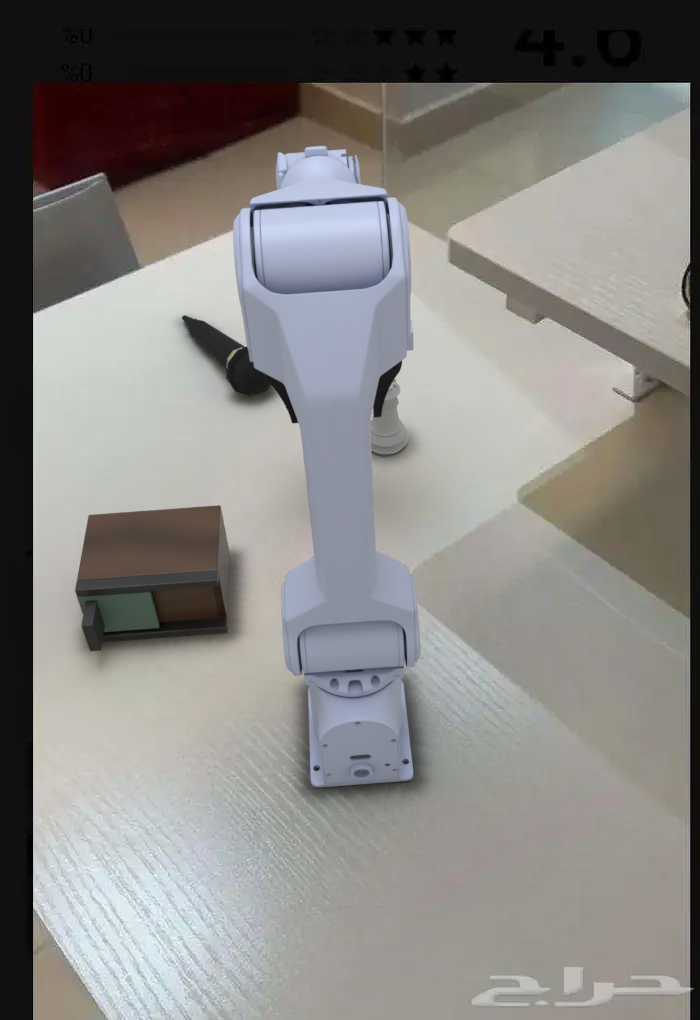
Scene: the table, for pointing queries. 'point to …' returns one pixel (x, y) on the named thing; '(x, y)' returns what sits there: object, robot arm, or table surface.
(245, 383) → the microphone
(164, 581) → the closet
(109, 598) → the closet door
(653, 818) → the table surface
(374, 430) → the rook chess piece
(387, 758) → the robot arm
